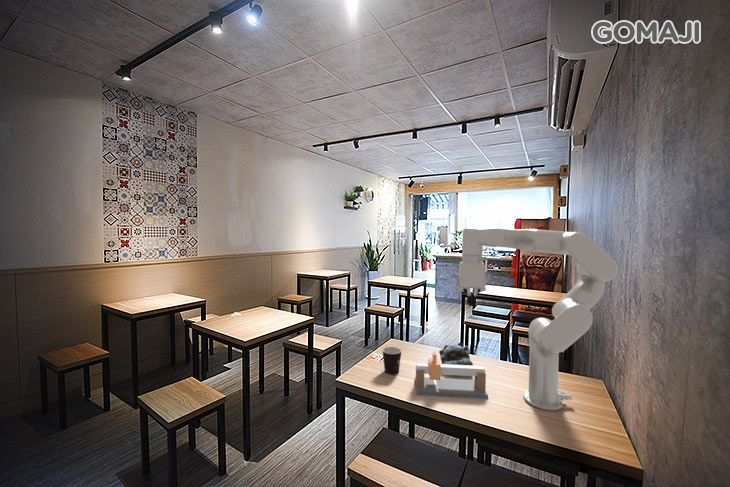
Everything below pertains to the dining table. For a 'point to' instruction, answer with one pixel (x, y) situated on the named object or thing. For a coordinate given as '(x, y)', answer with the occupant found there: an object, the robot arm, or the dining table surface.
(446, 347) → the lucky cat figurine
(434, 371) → the orange stepped block
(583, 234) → the robot arm
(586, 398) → the dining table surface
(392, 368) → the coffee mug
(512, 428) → the dining table surface
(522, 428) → the dining table surface
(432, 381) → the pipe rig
